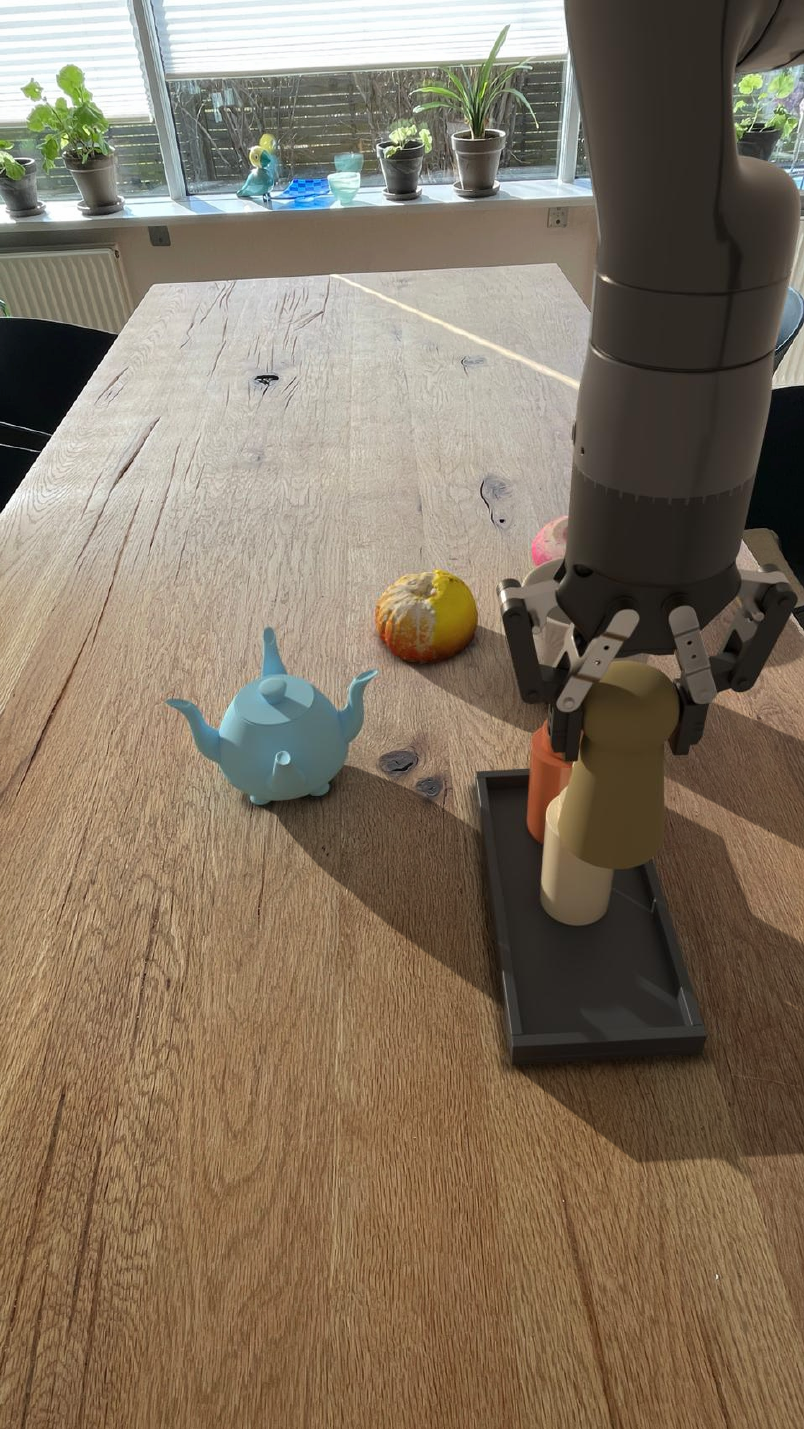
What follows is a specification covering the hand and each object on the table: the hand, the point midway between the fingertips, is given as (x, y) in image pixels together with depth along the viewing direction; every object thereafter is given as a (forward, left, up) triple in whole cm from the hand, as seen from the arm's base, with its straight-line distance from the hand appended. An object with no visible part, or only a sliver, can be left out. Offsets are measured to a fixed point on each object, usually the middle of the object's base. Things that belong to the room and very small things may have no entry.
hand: (622, 747), depth 50 cm
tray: (+7, -5, -24) cm, 25 cm away
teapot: (+33, +5, -24) cm, 41 cm away
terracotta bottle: (+13, -9, -23) cm, 28 cm away
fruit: (+42, -17, -24) cm, 51 cm away
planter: (+26, -24, -24) cm, 43 cm away
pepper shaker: (0, 0, -7) cm, 7 cm away
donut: (+40, -39, -24) cm, 61 cm away
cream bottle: (+7, -5, -23) cm, 25 cm away
